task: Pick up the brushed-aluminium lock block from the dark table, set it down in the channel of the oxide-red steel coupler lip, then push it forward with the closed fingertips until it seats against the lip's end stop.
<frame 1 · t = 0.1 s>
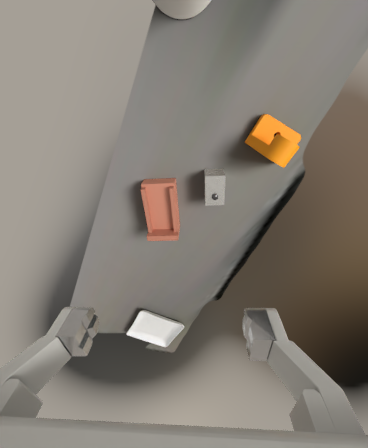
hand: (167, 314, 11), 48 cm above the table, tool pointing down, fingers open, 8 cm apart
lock: (213, 183, 57), on the table
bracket: (270, 138, 50), on the table
coupler lip: (163, 204, 61), on the table
salad plate: (155, 323, 94), on the table
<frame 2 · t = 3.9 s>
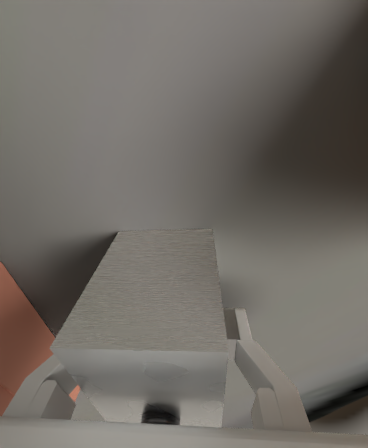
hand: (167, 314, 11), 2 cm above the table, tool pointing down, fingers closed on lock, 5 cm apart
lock: (172, 282, 13), on the table, touching gripper
coupler lip: (2, 334, 17), on the table
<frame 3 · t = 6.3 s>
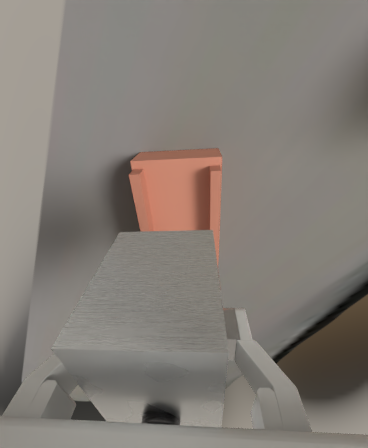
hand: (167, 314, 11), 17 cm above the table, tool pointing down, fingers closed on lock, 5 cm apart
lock: (172, 283, 13), point 15 cm above the table, touching gripper
coupler lip: (182, 212, 27), on the table
when the fingers open (8 cm above the table, at t = 8.2 s): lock drops 1 cm, resting on coupler lip.
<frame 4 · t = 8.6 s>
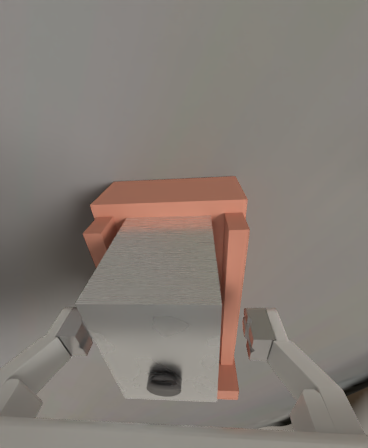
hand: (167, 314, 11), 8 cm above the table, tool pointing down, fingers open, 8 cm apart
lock: (174, 267, 14), point 4 cm above the table, touching coupler lip
coupler lip: (180, 261, 19), on the table
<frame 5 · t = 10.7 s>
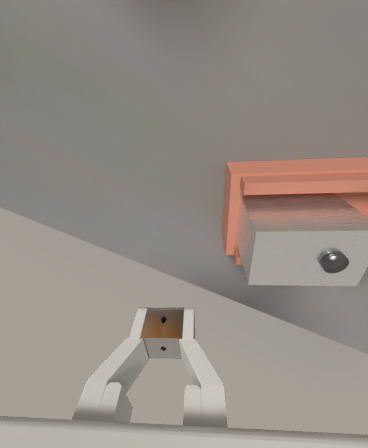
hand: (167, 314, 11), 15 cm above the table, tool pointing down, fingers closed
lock: (280, 218, 19), point 4 cm above the table, touching coupler lip
coupler lip: (296, 200, 22), on the table
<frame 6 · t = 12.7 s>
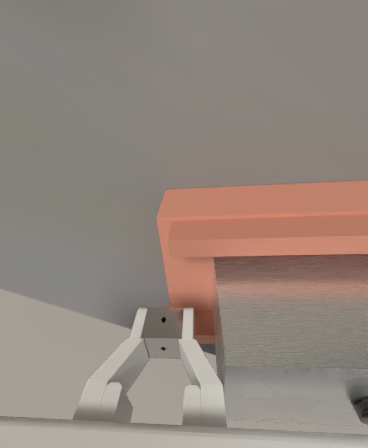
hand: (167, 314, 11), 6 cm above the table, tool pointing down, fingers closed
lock: (276, 278, 12), point 4 cm above the table, touching gripper
coupler lip: (273, 238, 16), on the table
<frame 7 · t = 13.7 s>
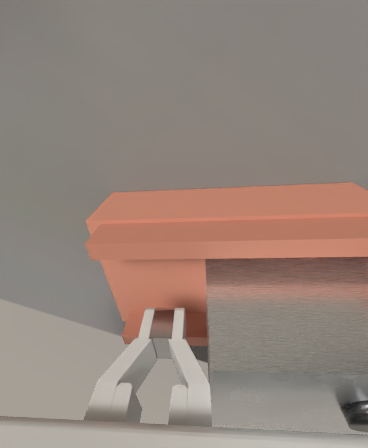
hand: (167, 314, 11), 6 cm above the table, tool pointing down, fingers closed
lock: (270, 280, 12), point 4 cm above the table, touching coupler lip, gripper
coupler lip: (223, 241, 16), on the table
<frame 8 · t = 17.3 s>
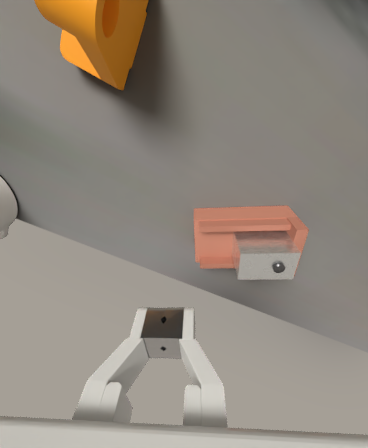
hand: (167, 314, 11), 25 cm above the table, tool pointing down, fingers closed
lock: (256, 241, 34), point 4 cm above the table, touching coupler lip
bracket: (110, 25, 24), on the table
coupler lip: (238, 228, 37), on the table
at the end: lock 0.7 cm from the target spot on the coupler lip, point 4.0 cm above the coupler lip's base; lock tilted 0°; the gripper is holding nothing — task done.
